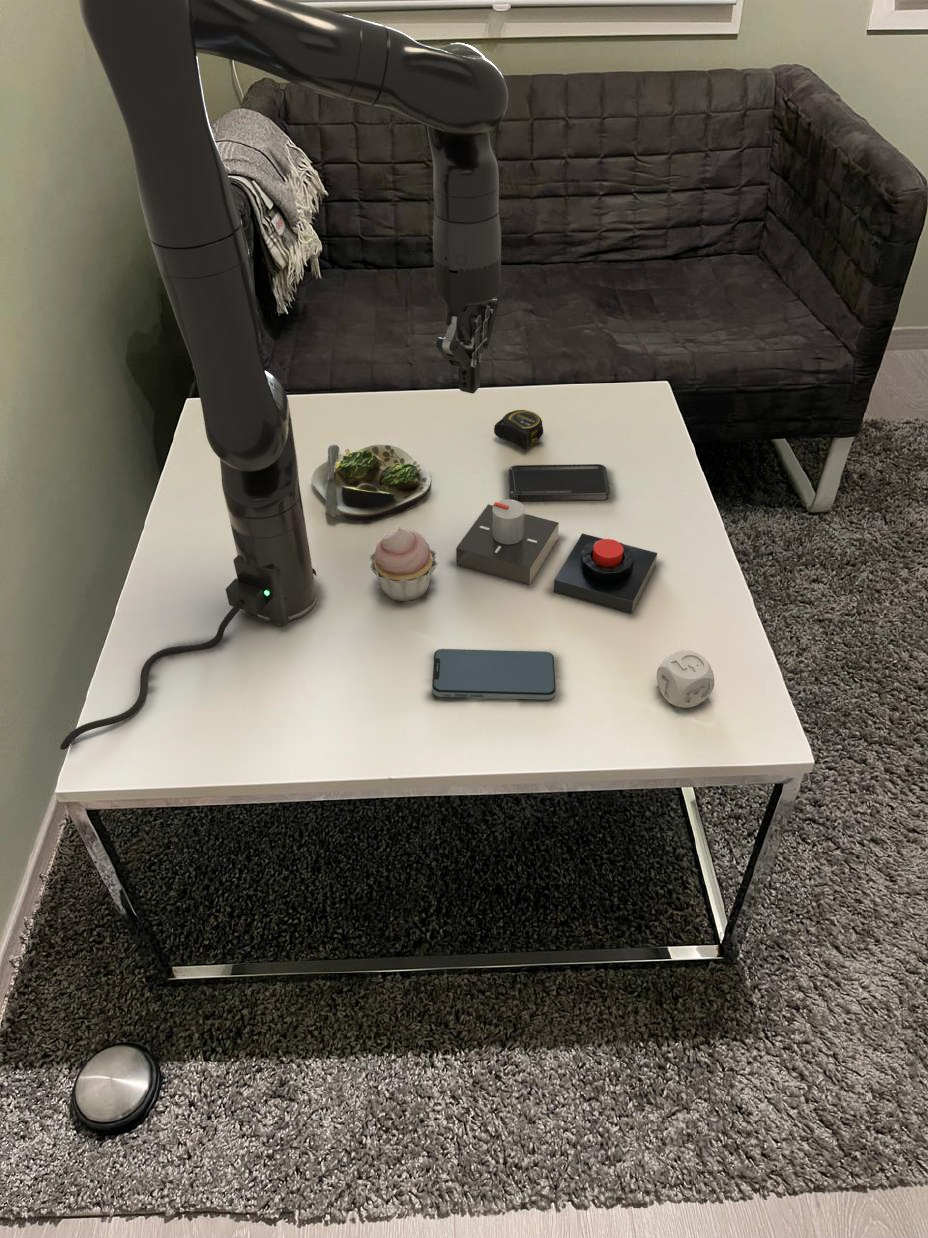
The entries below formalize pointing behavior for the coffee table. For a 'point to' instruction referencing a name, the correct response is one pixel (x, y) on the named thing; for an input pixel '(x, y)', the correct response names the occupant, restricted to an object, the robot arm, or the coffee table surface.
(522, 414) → the tape measure
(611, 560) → the button
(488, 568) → the hob panel
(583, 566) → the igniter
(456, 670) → the smartphone
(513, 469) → the phone
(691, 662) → the die
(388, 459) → the salad plate
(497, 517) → the hob knob
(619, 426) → the coffee table surface
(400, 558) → the cupcake
